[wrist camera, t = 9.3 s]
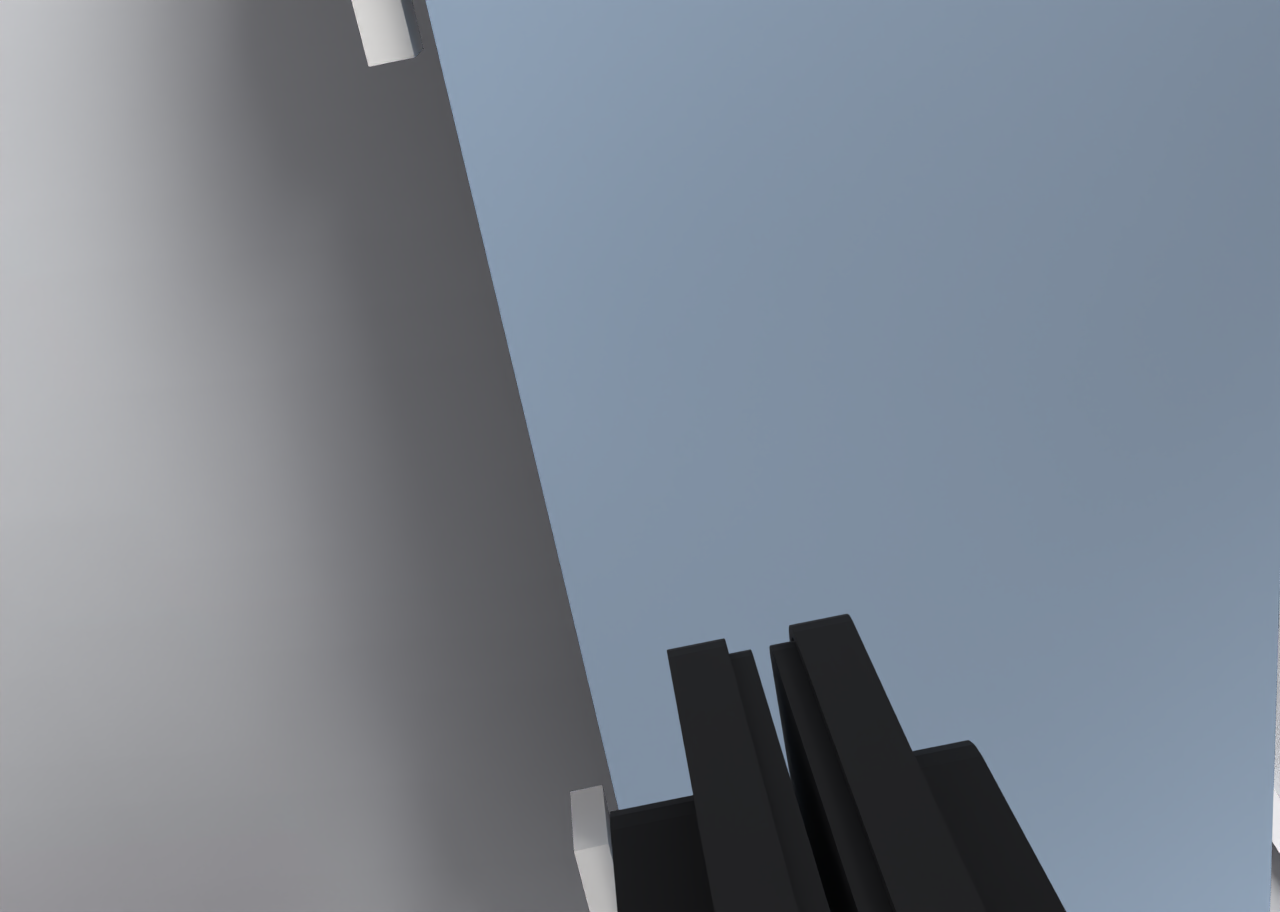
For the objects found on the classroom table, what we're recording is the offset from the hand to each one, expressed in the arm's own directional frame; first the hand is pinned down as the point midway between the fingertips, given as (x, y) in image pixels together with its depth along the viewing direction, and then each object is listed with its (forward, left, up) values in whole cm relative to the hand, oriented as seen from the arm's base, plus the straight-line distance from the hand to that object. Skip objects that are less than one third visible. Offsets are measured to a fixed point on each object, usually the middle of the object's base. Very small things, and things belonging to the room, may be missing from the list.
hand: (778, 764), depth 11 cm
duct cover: (0, +3, -9) cm, 10 cm away
